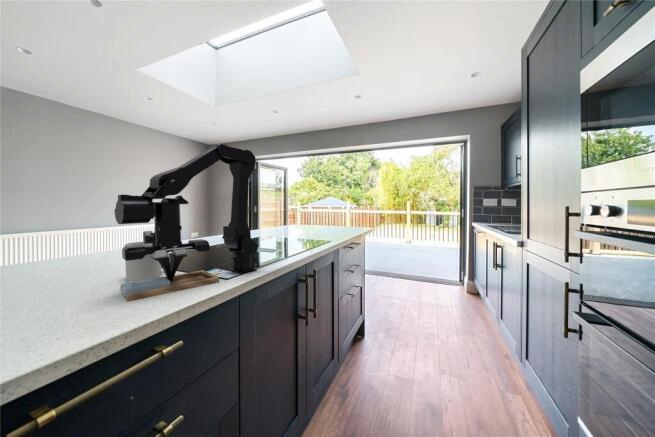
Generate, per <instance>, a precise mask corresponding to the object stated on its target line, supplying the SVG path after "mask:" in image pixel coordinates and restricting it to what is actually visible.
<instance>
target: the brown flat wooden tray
mask: <svg viewBox="0 0 655 437" xmlns="http://www.w3.org/2000/svg"><path fill="white" fill-rule="evenodd" d="M164 277H165V278H166V279H167V277H166V276H164ZM218 283H220V277H219V276H216V275H214V274H212V273H210V272H208V271H206V270H205V269H204V270H197V271H191V272H185V273H180V274H175V276H174V278H173V281H172V282H170V286H167V287H162V288H157V289H152V290H147V291H142V292H137V293H132V294H127V295H126V296H127V298H125V300H126V301H127V302H133V301H138V300H143V299H149V298H152V297H157V296H163V295H166V294H171V293H174V292H176V293H177V292H181V291H184V290H188V289H194V288H199V287H204V286H208V285H212V284H218ZM120 291H121V292H122V289H121V288H120Z"/></svg>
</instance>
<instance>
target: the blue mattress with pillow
mask: <svg viewBox="0 0 655 437" xmlns="http://www.w3.org/2000/svg"><path fill="white" fill-rule="evenodd" d="M165 277H166V276H160V277H158V278H153V279H147V280H141V281H134V282H132V281H126V280H125V281H124V282H123V283H121V284H120V290H121V289H122V291H121V294H122V295H123V297H124V299H126V298H127V296H126V295H127V294H132V293H137V292H142V291H147V290H152V289H157V288H162V287H167V286H170V281H169V280H168V279H166V278H165Z"/></svg>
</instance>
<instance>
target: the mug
mask: <svg viewBox="0 0 655 437" xmlns="http://www.w3.org/2000/svg"><path fill="white" fill-rule="evenodd" d="M133 245H143V246H145V247H152V244H144V241H137V242H129V243H125V244H124V247H125V246H133ZM163 248H166V247H163ZM169 253H170V252H166V256H168V257H169V258H170V255H169ZM151 256H152V255H151V254H149V255H146V256H145V257H144V258H143V259H137V260H129V261H125V260H124V262H125V281H130V282H136V281H141V280H147V279H153V278H159V277H162V266H161V265H160V263H159V262H158V260H154V259H152V258H151Z"/></svg>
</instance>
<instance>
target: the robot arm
mask: <svg viewBox="0 0 655 437" xmlns="http://www.w3.org/2000/svg"><path fill="white" fill-rule="evenodd" d="M256 160H257V159H256V156H255V154H254V153H253V152H252V151H251V150H249V149H242V148H237V147H232V146H228V145H226V144H223V143H218V144H214V145H211V146H210V147H209V148H208V149H206V150H205V151H203V152H202V153H200V154H198V155H196V156H195V157H193V158H192V159H190V160H188V161H186V162H185V163H183V164H181V165H180V166H176V167H174V168H172V169H169V170H166V171H164V172H159V173H158V174H155V175H153V176H152V177H151V178H150V179H149V186H148V187H147V189H145V191H144V192H143V193H142V194H141V195H132V194H131V195H130V194H118V195H117V201H116V203H115V208H114V217H115V218H114V219H115V221H116V223H117V224H118V225H131V224H133V225H134V224H147V223H149V222H151V220H153V219H154V231H152V230H144V231H143V232H142V236H143V238H142V240H143V241H142V242H144V244H152V247H145V246H143V245H133V246H125V245H124V246H123V247H122V249H121V257H122V259H123V260H124V262H125V261H129V260H137V259H143V258H144V257H145V256H146V255H149V254H151V255H152V256H151V258H152V259H154V260H158V262H159V263H160V265H161V266H162V267H161V269H162V271H163V274H164V275H165V277H167V279H168V280H169V281H170V282H172V281H173V278H174V276H175V275H176V273H177V271H178V268H179V266H180V264H181V262H182V261H183V259H184V258H186V257H188V254H187V253H186V252H187V251H189V250H191V251H192V250H195V251H197V252H198V253H199V252H200V253H201V252H208V251H210V246H211V245H210V243H209V241H208V240H206V239H202V238H200V239H190V240H189V239H188V242H187V243H186V242H185V243H183V241H182V230H183V229H182V228H183V227H182V225H181V205H189V203H190V202H189V201H188V200H186V199H185V198H184V197H183V195H178V194H180V193H181V192H182V191H183V190H184V189H185V188H187V186H189V184H190V182H191V180H193V178H195V177H197V176H198V175H199V174H200V173H201V172H204V171H205V170H207V169H208V168H209V167H211V166H212V165H214V164H216V163H217V162H219V161H220V162H222V163H223V164H225V165H228V166H229V171H230V173H231V175H232V178H233V179H232V195H231V209H230V210H231V213H230V221H229V223H228V225H224V226H223V227H222V230H223V233H222V237H221V239H222V240H223V243H224V245H226V247H227V248H228V251H229V253H231V257H230V269H229V270H230V271H232V272H233V271H234V273H236V274H243V273H248V272H254V271H257V268H256V267H255V254H256V253H257V252H258V249H259V246H258V244H257V243H255V241H254V240H252V235H251V234H252V233H251V228H250V227H249V225H248V222H247V219H248V203H249V202H248V201H249V200H248V198H249V185H250V184H249V183H250V178H251V176H252V175H253V173H254V171H255V166H256ZM168 196H175V197H168ZM153 200H161V201H158V202H157V201H153ZM163 247H166V248H163ZM166 252H169V257H168V256H166Z"/></svg>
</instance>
